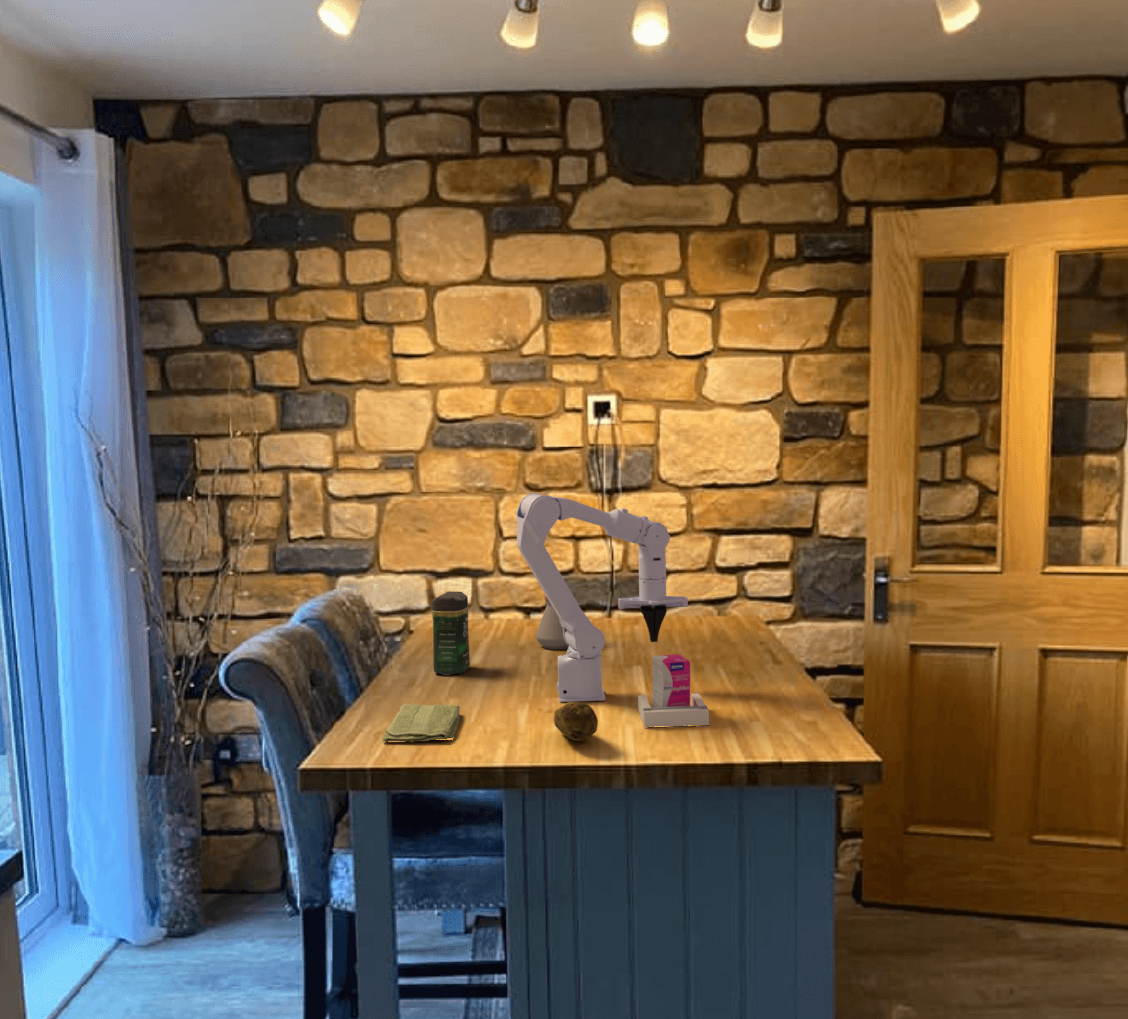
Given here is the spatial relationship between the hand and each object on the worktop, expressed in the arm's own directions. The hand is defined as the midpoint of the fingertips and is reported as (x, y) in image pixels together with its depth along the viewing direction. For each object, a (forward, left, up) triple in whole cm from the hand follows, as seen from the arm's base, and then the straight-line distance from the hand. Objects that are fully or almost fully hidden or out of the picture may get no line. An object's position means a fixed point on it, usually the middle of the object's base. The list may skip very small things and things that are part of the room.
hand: (653, 640), depth 199 cm
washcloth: (-46, -22, -11) cm, 52 cm away
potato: (-18, -32, -11) cm, 38 cm away
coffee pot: (-20, +48, -11) cm, 53 cm away
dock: (+1, -20, -10) cm, 23 cm away
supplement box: (+1, -19, -11) cm, 22 cm away
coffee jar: (-45, +21, -11) cm, 51 cm away
